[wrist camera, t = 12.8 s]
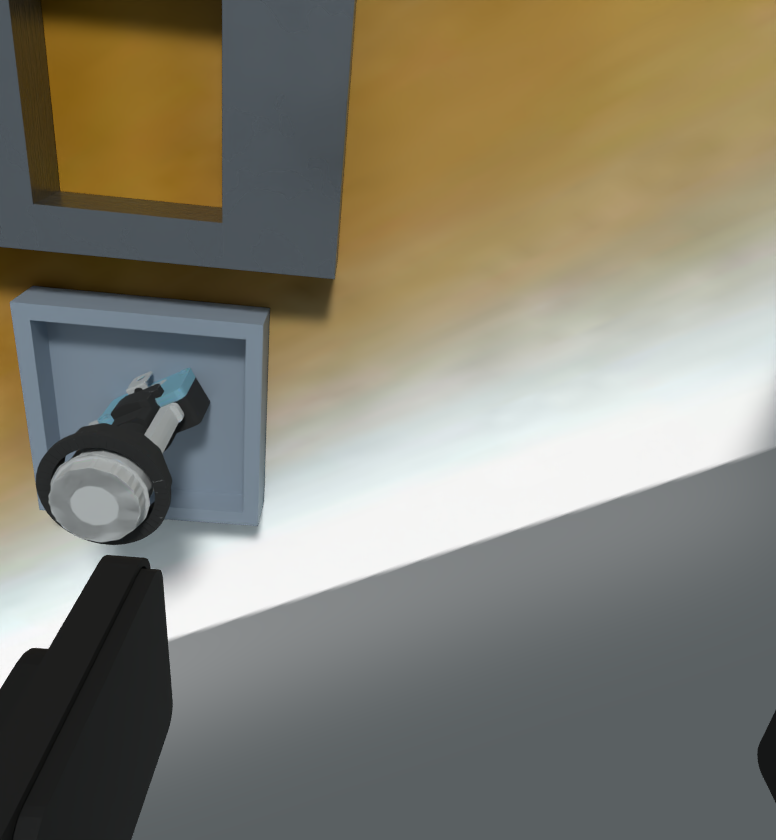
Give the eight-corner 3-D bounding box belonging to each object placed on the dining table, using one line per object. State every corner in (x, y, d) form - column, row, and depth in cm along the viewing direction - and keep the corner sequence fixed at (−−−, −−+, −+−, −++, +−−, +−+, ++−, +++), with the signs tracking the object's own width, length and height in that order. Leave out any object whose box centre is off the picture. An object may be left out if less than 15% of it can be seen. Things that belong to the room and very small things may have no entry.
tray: (269, 307, 36) (263, 325, 34) (264, 500, 41) (257, 525, 39) (32, 285, 35) (10, 302, 33) (57, 484, 41) (39, 509, 38)
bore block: (362, -85, 29) (361, -98, 26) (337, 261, 35) (334, 279, 32) (-108, -146, 27) (-159, -167, 25) (-45, 223, 34) (-80, 239, 31)
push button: (122, 463, 39) (49, 585, 30) (65, 381, 37) (-32, 488, 28) (230, 420, 38) (187, 534, 29) (179, 333, 36) (115, 428, 27)
